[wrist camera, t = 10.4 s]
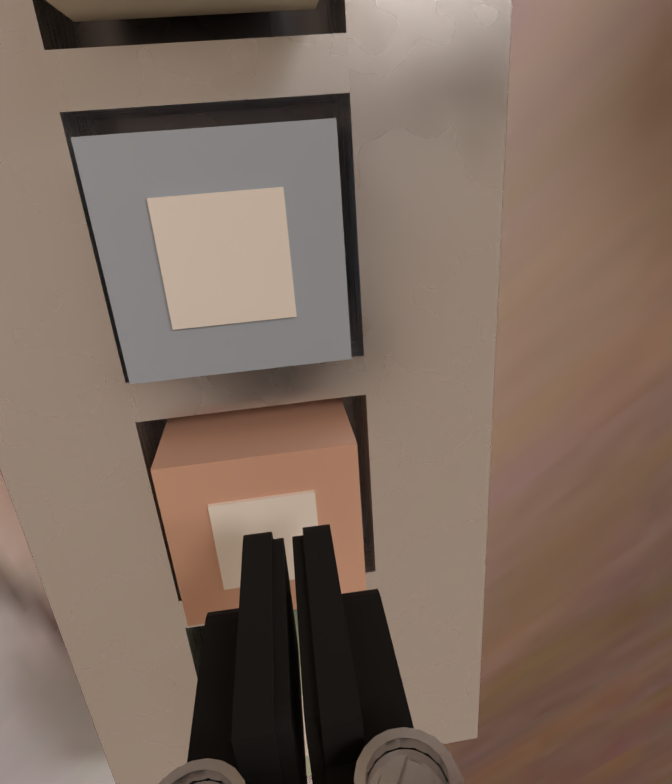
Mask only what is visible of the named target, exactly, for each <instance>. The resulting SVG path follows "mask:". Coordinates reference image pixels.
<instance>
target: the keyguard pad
mask: <svg viewBox="0 0 672 784" xmlns="http://www.w3.org/2000/svg"><path fill="white" fill-rule="evenodd" d="M511 19H512V0H319V2H318V4H317V6H316V9H308V10H289V11H270V12H251V13H232V14H214V15H195V16H176V17H157V18H138V19H119V20H100V21H81V22H74V21H72V20H71V19H70V18H68V17H67V16H66V15H64V14H63V13H62V12H60V11H59V10H58V9H56V8H55V7H54V6H52V5H51V4H50V3H48V2H47V1H46V0H0V470H1V472H2V475H3V478H4V481H5V483H6V486H7V489H8V491H9V494H10V497H11V500H12V502H13V505H14V508H15V511H16V513H17V516H18V519H19V521H20V524H21V527H22V530H23V532H24V535H25V538H26V540H27V543H28V546H29V549H30V551H31V554H32V557H33V560H34V562H35V565H36V568H37V570H38V573H39V576H40V579H41V581H42V584H43V587H44V589H45V592H46V595H47V598H48V600H49V603H50V606H51V609H52V611H53V614H54V617H55V619H56V622H57V625H58V628H59V630H60V633H61V636H62V638H63V641H64V644H65V647H66V649H67V652H68V655H69V658H70V660H71V663H72V666H73V668H74V671H75V674H76V677H77V679H78V682H79V685H80V687H81V690H82V693H83V696H84V698H85V701H86V704H87V707H88V709H89V712H90V715H91V717H92V720H93V723H94V726H95V728H96V731H97V734H98V736H99V739H100V742H101V745H102V747H103V750H104V753H105V756H106V758H107V761H108V764H109V766H110V769H111V772H112V775H113V777H114V780H115V783H116V784H159V783H160V781H161V780H162V779H163V778H165V777H166V776H167V775H168V774H170V773H171V772H172V771H173V770H174V769H176V768H178V767H180V766H182V765H184V764H186V763H187V758H188V750H189V742H190V735H191V727H192V719H193V711H194V703H195V696H196V688H197V680H198V672H199V664H200V657H201V649H202V641H203V633H204V625H205V624H199V625H193V626H188V624H187V620H186V616H185V612H184V608H183V604H182V599H181V595H180V591H179V587H178V583H177V579H176V574H175V570H174V566H173V562H172V558H171V554H170V549H169V545H168V541H167V537H166V533H165V529H164V524H163V520H162V516H161V512H160V508H159V504H158V499H157V495H156V491H155V487H154V483H153V479H152V475H151V467H152V464H153V461H154V458H155V455H156V452H157V449H158V446H159V443H160V440H161V437H162V434H163V431H164V428H165V425H166V422H167V419H168V418H176V417H184V416H192V415H200V414H209V413H217V412H225V411H233V410H242V409H250V408H258V407H267V406H275V405H283V404H291V403H300V402H308V401H316V400H324V399H333V398H341V400H342V402H343V405H344V408H345V411H346V414H347V416H348V419H349V422H350V425H351V428H352V430H353V433H354V436H355V439H356V442H357V449H358V465H359V480H360V496H361V512H362V528H363V543H364V559H365V575H366V590H372V589H378V590H379V593H380V596H381V600H382V604H383V608H384V612H385V616H386V619H387V623H388V627H389V631H390V635H391V639H392V643H393V647H394V651H395V655H396V659H397V663H398V667H399V671H400V675H401V679H402V683H403V687H404V691H405V695H406V699H407V703H408V707H409V710H410V714H411V718H412V722H413V726H414V729H419V730H422V731H424V732H426V733H428V734H430V735H432V736H434V737H435V738H436V739H438V740H439V741H440V742H441V743H442V744H446V743H452V742H457V741H462V740H468V739H473V738H477V732H478V711H479V690H480V669H481V648H482V627H483V606H484V585H485V564H486V543H487V522H488V501H489V480H490V459H491V438H492V417H493V396H494V375H495V354H496V333H497V312H498V291H499V270H500V249H501V229H502V208H503V187H504V166H505V145H506V124H507V103H508V82H509V61H510V40H511ZM330 118H336V120H337V135H338V151H339V167H340V183H341V198H342V214H343V230H344V245H345V261H346V277H347V293H348V308H349V324H350V340H351V356H352V359H347V360H339V361H330V362H321V363H312V364H304V365H295V366H286V367H277V368H269V369H260V370H251V371H242V372H234V373H225V374H216V375H207V376H199V377H190V378H181V379H172V380H164V381H155V382H146V383H138V384H130V382H129V378H128V374H127V370H126V366H125V362H124V357H123V353H122V349H121V345H120V341H119V337H118V332H117V328H116V324H115V320H114V316H113V312H112V307H111V303H110V299H109V295H108V291H107V287H106V283H105V278H104V274H103V270H102V266H101V262H100V258H99V253H98V249H97V245H96V241H95V237H94V233H93V228H92V224H91V220H90V216H89V212H88V208H87V203H86V199H85V195H84V191H83V187H82V183H81V178H80V174H79V170H78V166H77V162H76V158H75V153H74V149H73V145H72V141H71V137H80V136H94V135H108V134H122V133H136V132H149V131H163V130H177V129H191V128H205V127H219V126H233V125H246V124H260V123H274V122H288V121H302V120H316V119H330ZM294 611H297V609H295V610H294Z"/></svg>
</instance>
